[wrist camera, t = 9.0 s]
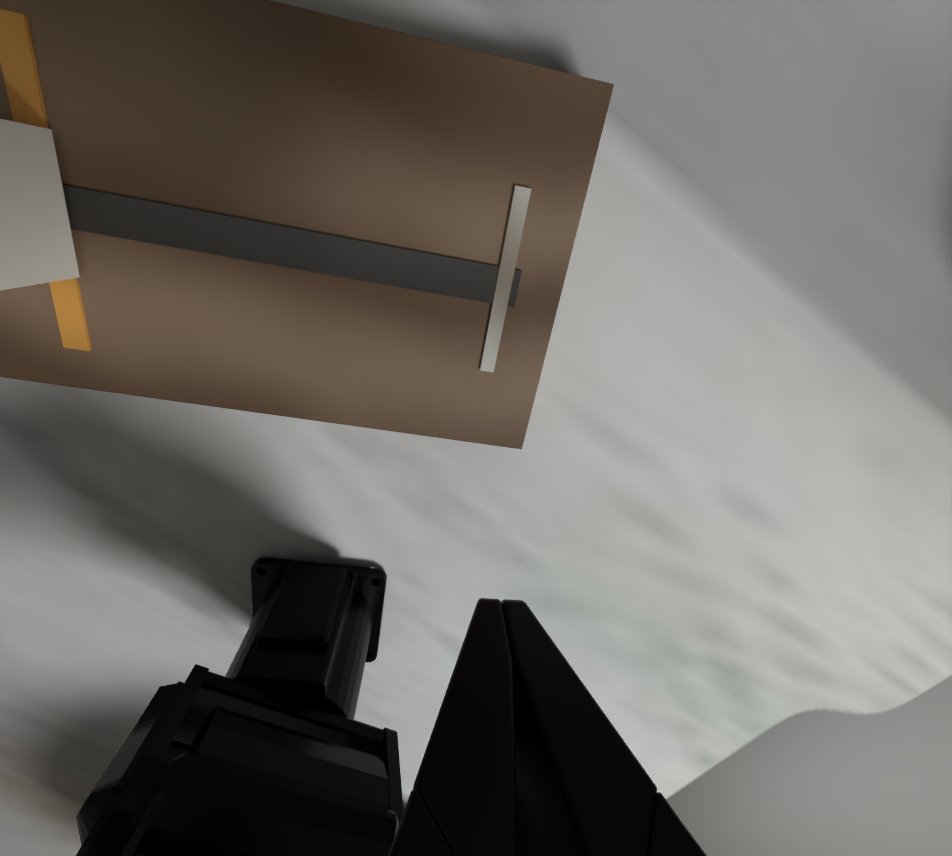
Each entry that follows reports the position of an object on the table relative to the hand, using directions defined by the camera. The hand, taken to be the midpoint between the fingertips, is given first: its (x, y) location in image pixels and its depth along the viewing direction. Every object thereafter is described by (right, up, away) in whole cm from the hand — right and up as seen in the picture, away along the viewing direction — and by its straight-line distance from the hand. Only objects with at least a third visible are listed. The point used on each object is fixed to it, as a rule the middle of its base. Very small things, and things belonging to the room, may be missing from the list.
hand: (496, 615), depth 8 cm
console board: (-13, +11, +7) cm, 19 cm away
